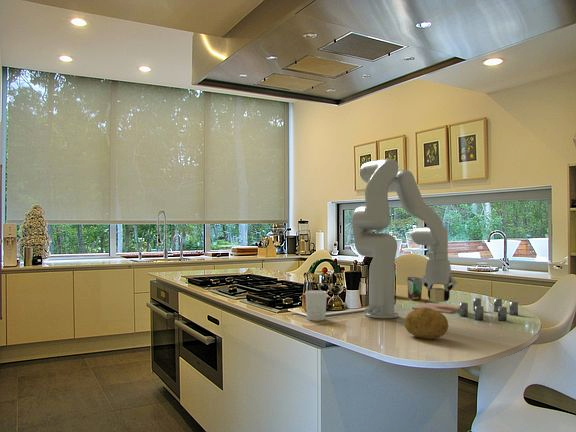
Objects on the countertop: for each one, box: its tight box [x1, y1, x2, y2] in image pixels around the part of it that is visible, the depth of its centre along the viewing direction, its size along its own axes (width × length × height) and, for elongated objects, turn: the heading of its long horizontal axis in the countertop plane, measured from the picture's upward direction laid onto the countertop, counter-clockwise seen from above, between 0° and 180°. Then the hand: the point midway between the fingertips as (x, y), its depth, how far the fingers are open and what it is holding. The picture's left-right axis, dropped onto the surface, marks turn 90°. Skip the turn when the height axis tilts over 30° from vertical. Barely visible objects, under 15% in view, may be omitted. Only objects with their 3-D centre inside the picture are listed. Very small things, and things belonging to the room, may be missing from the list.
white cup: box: [304, 289, 328, 322], centre depth 174 cm, size 8×8×10 cm
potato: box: [404, 307, 449, 340], centre depth 145 cm, size 10×13×9 cm
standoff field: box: [459, 297, 519, 322], centre depth 184 cm, size 27×17×5 cm, turn 141°
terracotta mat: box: [411, 302, 460, 314], centre depth 199 cm, size 16×16×1 cm
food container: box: [406, 276, 423, 302], centre depth 225 cm, size 12×6×10 cm, turn 179°
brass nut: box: [429, 287, 447, 303], centre depth 199 cm, size 7×6×5 cm
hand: (438, 299), depth 199 cm, fingers closed on brass nut, 6 cm apart
